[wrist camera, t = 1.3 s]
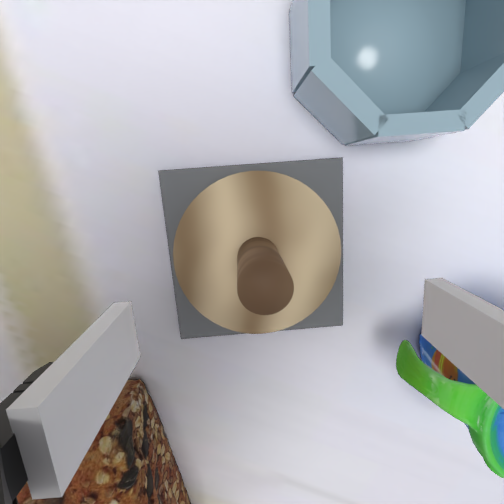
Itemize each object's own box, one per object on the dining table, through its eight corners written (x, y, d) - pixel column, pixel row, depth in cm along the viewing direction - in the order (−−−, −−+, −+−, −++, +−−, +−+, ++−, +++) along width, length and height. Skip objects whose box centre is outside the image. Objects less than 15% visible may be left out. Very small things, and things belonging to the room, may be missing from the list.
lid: (186, 333, 27) (164, 398, 19) (165, 176, 24) (130, 178, 16) (336, 320, 28) (377, 380, 20) (336, 164, 24) (383, 160, 16)
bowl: (293, 149, 25) (311, 141, 19) (286, -57, 21) (304, -143, 16) (461, 137, 25) (530, 126, 19) (478, -67, 22) (566, -155, 16)
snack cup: (557, 304, 29) (723, 372, 19) (508, 402, 31) (633, 508, 21) (397, 265, 27) (488, 317, 17) (358, 371, 30) (418, 470, 20)
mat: (182, 335, 28) (181, 338, 27) (160, 170, 25) (158, 170, 24) (340, 322, 28) (342, 325, 28) (340, 157, 25) (342, 157, 24)
